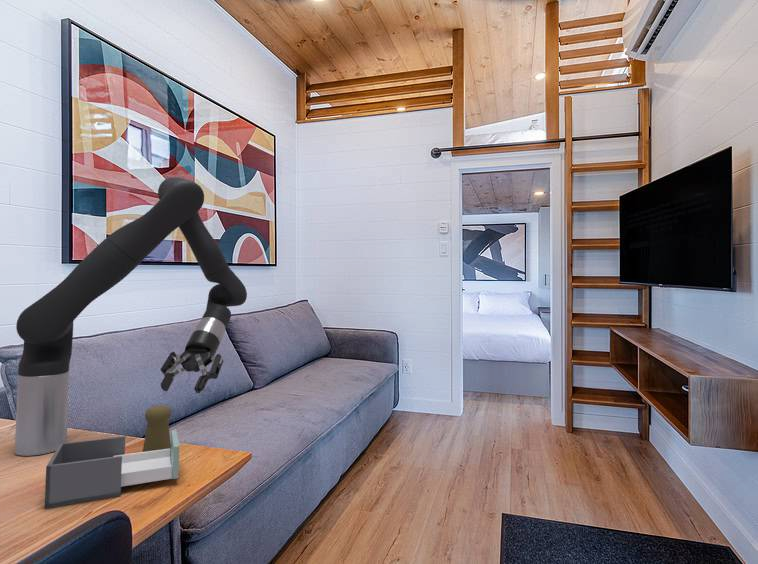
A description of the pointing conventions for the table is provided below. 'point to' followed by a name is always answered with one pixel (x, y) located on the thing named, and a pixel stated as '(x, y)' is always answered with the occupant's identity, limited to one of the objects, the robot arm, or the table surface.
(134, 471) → the drawer
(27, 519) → the table surface
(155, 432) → the cork
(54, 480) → the box
